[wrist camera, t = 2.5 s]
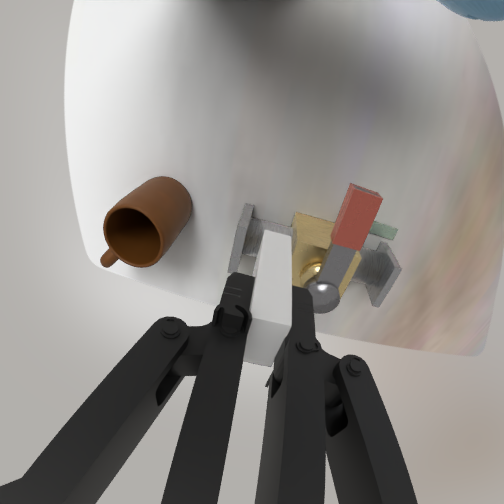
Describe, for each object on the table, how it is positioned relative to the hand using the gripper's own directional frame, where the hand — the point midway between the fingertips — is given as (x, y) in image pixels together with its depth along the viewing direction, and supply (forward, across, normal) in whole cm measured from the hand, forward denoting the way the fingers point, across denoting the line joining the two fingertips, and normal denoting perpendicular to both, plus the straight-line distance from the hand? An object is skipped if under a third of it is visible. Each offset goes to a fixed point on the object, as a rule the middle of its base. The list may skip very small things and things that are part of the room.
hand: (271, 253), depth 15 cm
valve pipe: (+17, +7, -8) cm, 20 cm away
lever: (+8, +7, -3) cm, 11 cm away
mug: (+17, -14, -8) cm, 24 cm away
